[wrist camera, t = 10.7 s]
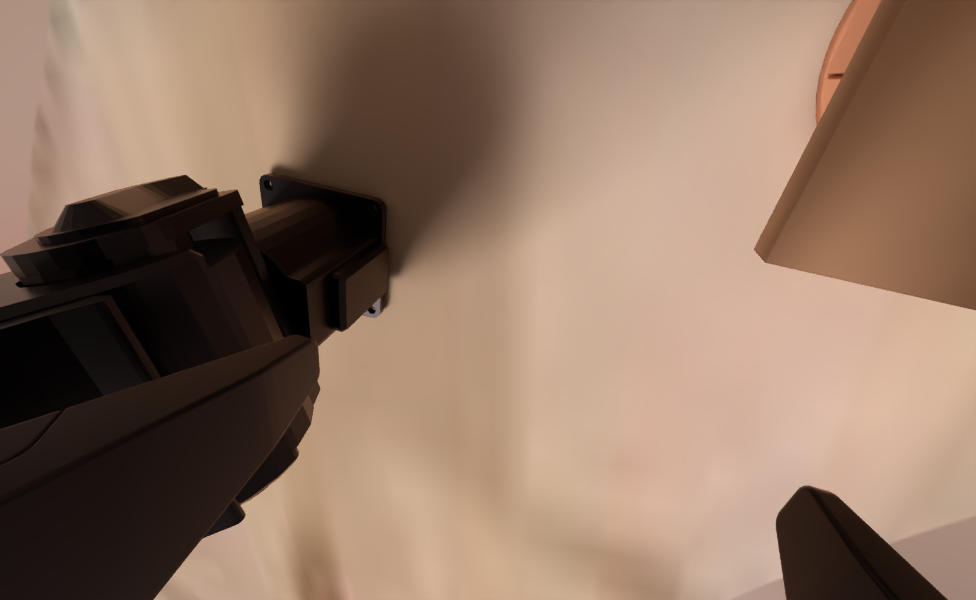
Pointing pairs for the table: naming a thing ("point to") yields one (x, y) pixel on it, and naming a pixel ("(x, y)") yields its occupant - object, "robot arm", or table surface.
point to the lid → (892, 162)
